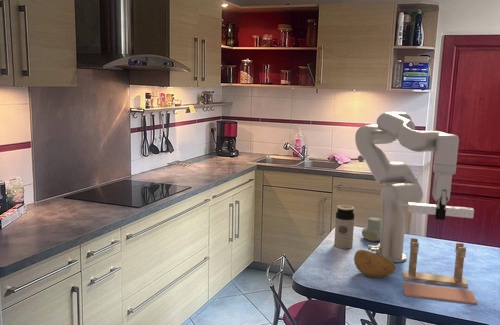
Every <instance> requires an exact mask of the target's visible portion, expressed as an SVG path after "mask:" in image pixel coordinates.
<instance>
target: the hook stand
mask: <svg viewBox="0 0 500 325" xmlns="http://www.w3.org/2000/svg"><path fill="white" fill-rule="evenodd" d="M418 241H419V240H418V238H415V237H413V238H412V237H411V238H410V243H409V247H410V250H409V259H408V260H409V261H408V262H409V263H408V270H403V271H402V278H403V281H409V282H417V283H418V282H419V283H427V284H435V285H442V286H443V285H445V286H453V287H461V288H468V287H469V286H468V285H469V284H468V282H467V280H466V278H465V277H463V272H464V262H465V258H466V252H467V248H466V247H464V245H465V243H464V242H455V262H454V268H453V269H454V270H453V276H451V275H444V274H433V273H425V272H417V265H418V264H417V261H418V253H419V245H420V243H419V242H418Z"/></svg>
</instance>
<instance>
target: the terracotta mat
mask: <svg viewBox="0 0 500 325" xmlns="http://www.w3.org/2000/svg"><path fill="white" fill-rule="evenodd" d="M402 285H403V286H402V287H403V293H404V296H405V297H414V298H421V299H428V300H429V299H430V300H438V301H445V302H453V303H460V304H461V303H462V304H469V305H478V302H477V299H476V297H475V295H474V293H473V291H472V290H471V289H470V290H469V289H461V288H452V287H443V286H434V285H427V284H420V283H419V284H418V283H410V282H402Z"/></svg>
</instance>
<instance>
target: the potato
mask: <svg viewBox="0 0 500 325" xmlns="http://www.w3.org/2000/svg"><path fill="white" fill-rule="evenodd" d="M353 261H354V265H355V267H356V269H357V271H359V272H360V274H362V275H364V276H367V277H369V278H385V277H389V276H390V275H393V274H394V273H395V271H396V269H397V267H396V264H395V262H392V261H391V260H389V259H387V258H385V257H383V256H381V255H378V254H376V253H375V252H373V251H371V250H366V249H359V250H357V251H355V254H354V257H353Z"/></svg>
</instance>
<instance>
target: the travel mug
mask: <svg viewBox="0 0 500 325" xmlns="http://www.w3.org/2000/svg"><path fill="white" fill-rule="evenodd" d="M336 208H337V212H336V213H335V224H334V226H335V228H334V242H333V243H334V244H333V245H334V247H336V248H338V249H343V250H347V249H351V248H353V245H354V244H353V243H354V230H355V229H354V228H355V227H354V226H355V213H354V210H355V207H354V206H353V205H348V204H339V205H337V206H336Z"/></svg>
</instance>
